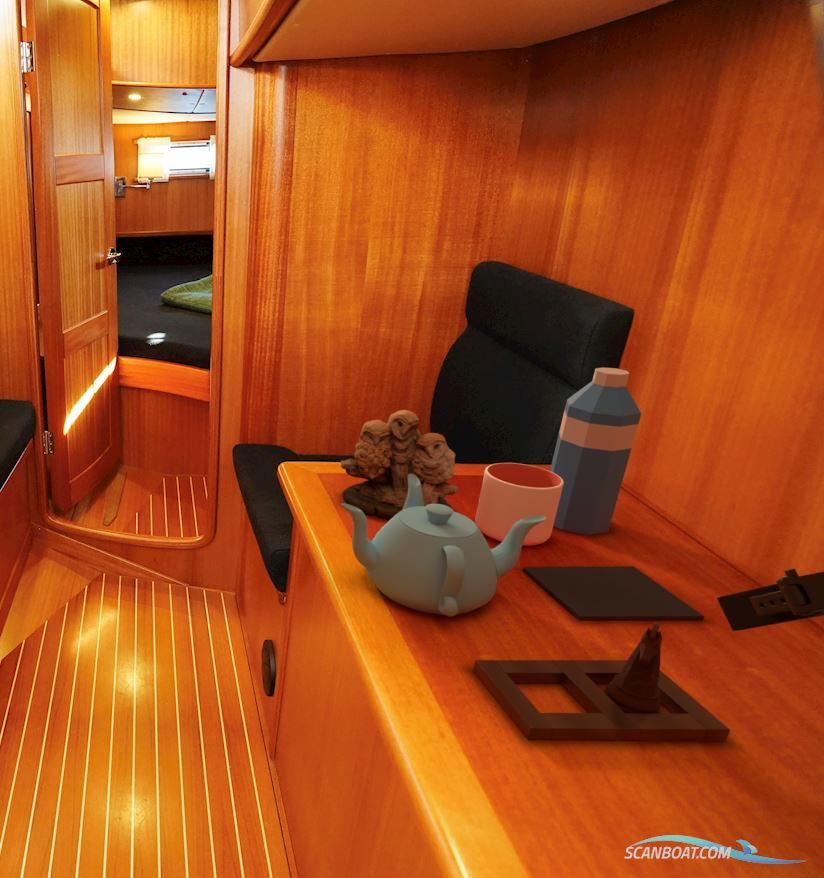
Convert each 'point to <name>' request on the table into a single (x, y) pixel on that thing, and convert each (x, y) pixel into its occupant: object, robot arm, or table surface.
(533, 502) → the cup
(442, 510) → the teapot
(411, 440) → the owl figurine
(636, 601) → the felt mat
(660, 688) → the rack
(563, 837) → the table surface
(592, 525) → the water bottle
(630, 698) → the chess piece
